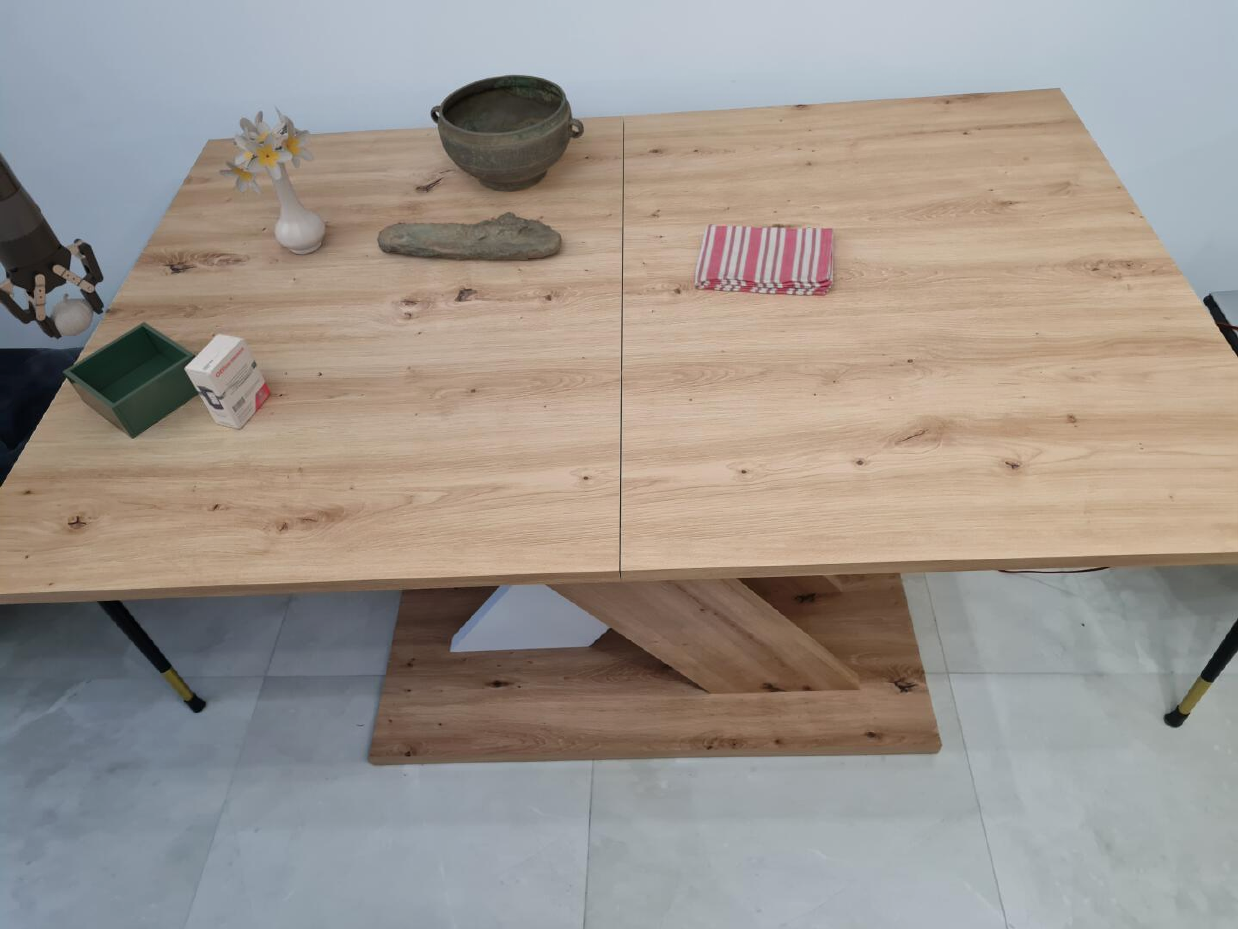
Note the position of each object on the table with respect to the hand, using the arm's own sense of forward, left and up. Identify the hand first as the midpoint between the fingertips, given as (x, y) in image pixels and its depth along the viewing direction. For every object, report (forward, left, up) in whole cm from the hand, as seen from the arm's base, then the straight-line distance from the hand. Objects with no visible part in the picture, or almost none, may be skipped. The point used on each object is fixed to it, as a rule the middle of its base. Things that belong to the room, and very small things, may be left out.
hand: (77, 323), depth 130 cm
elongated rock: (+62, -14, -18) cm, 66 cm away
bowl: (+86, -3, -18) cm, 88 cm away
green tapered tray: (+4, +2, -18) cm, 18 cm away
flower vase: (+45, +13, -18) cm, 50 cm away
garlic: (0, 0, -1) cm, 1 cm away
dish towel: (+87, -62, -18) cm, 108 cm away
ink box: (+11, -14, -18) cm, 25 cm away
